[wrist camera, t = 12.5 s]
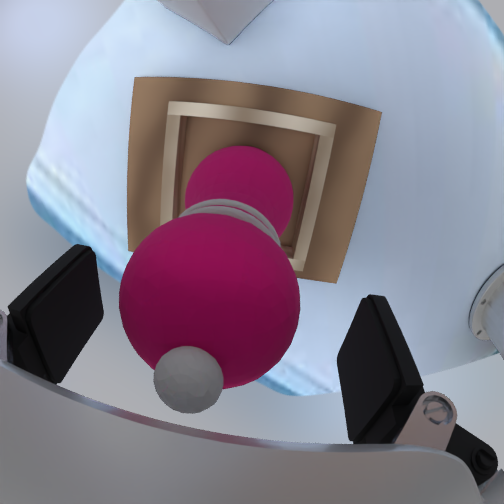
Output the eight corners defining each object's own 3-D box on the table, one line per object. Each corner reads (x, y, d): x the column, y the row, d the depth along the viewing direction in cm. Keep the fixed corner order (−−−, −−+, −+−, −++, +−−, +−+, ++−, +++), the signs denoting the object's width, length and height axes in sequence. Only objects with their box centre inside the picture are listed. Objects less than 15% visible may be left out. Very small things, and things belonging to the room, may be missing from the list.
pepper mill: (284, 228, 26) (305, 469, 8) (199, 222, 26) (95, 438, 8) (293, 143, 22) (387, 294, 5) (200, 137, 22) (7, 257, 5)
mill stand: (376, 111, 22) (392, 113, 19) (334, 276, 29) (340, 296, 26) (140, 78, 21) (122, 75, 18) (133, 245, 29) (119, 262, 25)
